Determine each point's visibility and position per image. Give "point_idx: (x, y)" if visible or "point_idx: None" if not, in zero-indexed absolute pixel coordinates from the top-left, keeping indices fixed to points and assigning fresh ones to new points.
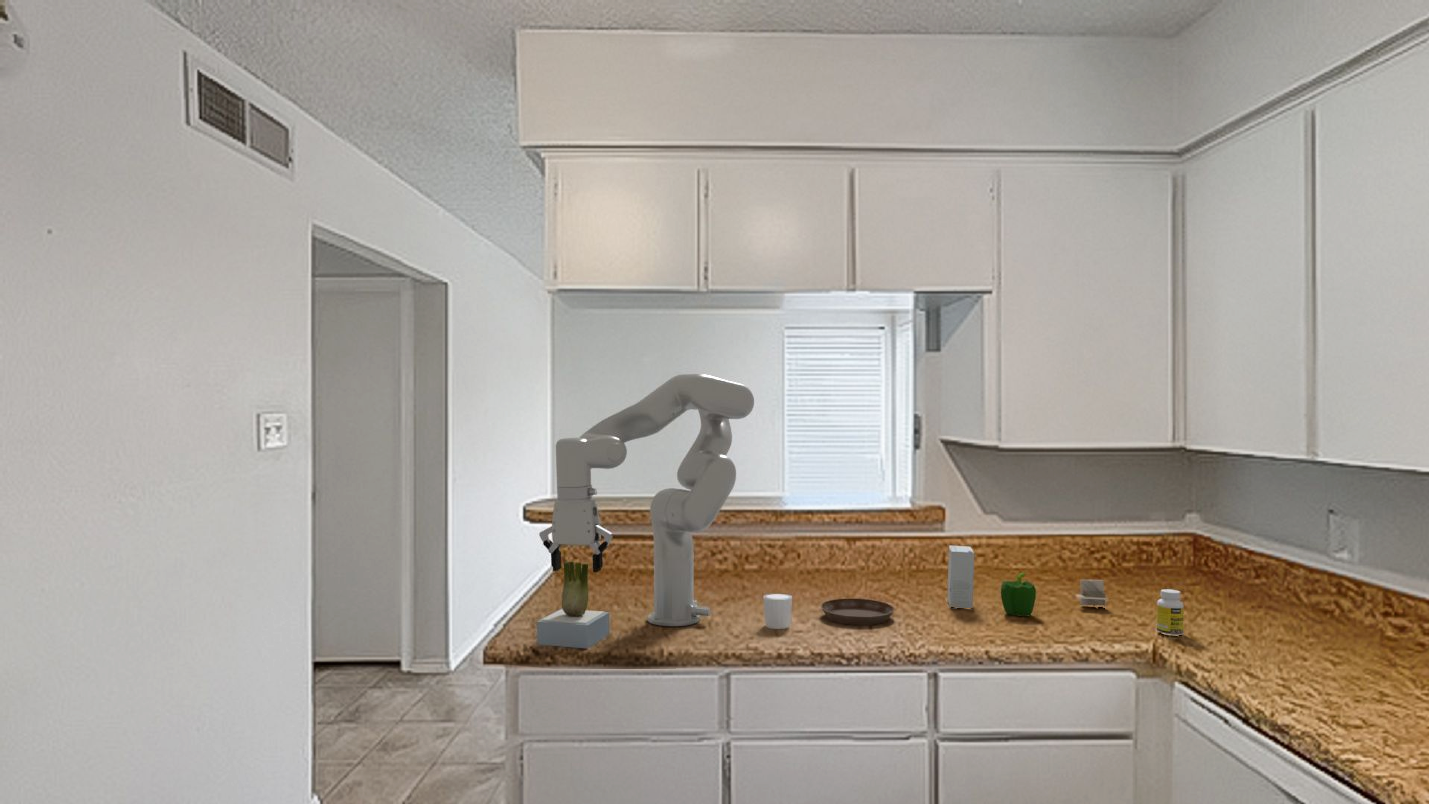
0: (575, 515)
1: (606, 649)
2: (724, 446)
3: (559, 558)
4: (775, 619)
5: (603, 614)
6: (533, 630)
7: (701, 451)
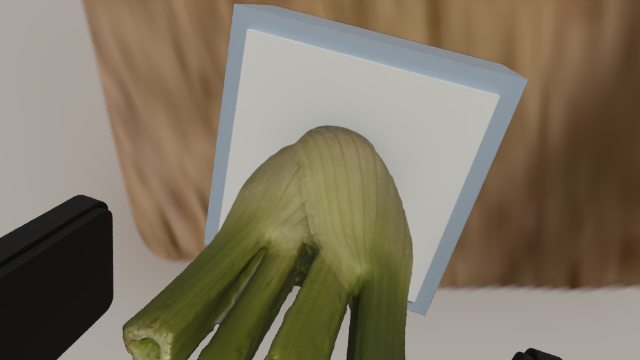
0: None
1: (492, 272)
2: None
3: (22, 308)
4: None
5: (491, 131)
6: (162, 3)
7: None
